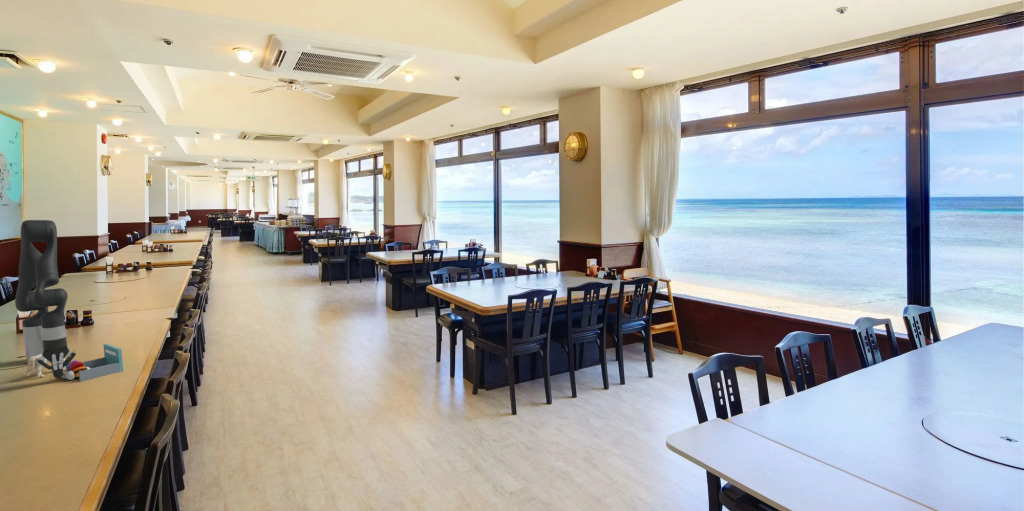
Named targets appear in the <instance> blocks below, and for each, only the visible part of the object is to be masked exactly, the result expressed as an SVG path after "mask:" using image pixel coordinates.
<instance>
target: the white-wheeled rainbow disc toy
mask: <svg viewBox="0 0 1024 511" xmlns="http://www.w3.org/2000/svg"><path fill="white" fill-rule="evenodd" d="M83 362H84V361H79V360H71V362H70V363H69V364H68V366H66V368H65V370H63V376H61V379H64V380H68V381H74V380H75V378H79V371H83V370H87V369H91V368H89V367H84V363H83Z"/></svg>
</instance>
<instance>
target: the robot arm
mask: <svg viewBox="0 0 1024 511" xmlns="http://www.w3.org/2000/svg"><path fill="white" fill-rule="evenodd" d="M35 242H36V243H43V242H46V243H47V244H46V245H47V246H46V248H45V250H44V252H43V253H42V252H40V251H39V250H38V249H37V248H36V247H35V246H34V244H33V243H35ZM57 259H58V230H57V225H56V222H54V221H53V220H49V219H29V220H28V219H25V220H23V221H22V223H21V226H20V255H19V264H18V281H17V282H18V283H17V284H18V285H17V289H16V292H15V293H16V294H15V300H14V305H15V309H16V310H17V311H18V312H22V313H24V312H25V313H26V312H34V311H35V312H36V311H37V312H36V313H35V314H33V315H32V316H29V317H27V318H24V319H23V320H22V321H21V323H22V324H21V325H22V333H23V334H22V335H23V341H24V343H23V344H24V352H25V360H26V361H25V362H26V364H28V362H29V358H30V357H32V356H37V355H39V354H42V356H41V357H40V358H39V359H36V362H38V363H39V364H41V365H42V366H43V367H44V368H45V369H47V370H49V371H50V370H51V371H52V370H53V372H52V376H53V377H54V378H55V379H62V377H61V376H63V367H65V366H68V364H69V363H70V362H72V361H73V359H74V358H75V357H76V355H77V353H76V352H75V351H74V352H73V351H70V348H69V347H68V341H67V339H68V338H67V330H66V325H65V308H66V303H67V301H68V292H67V291H66V290H65V289H64V288H62V287H61V288H58V287H57V288H50V287H53V286H57V285H58V284H59V283H60V276H59V270H58V269H59V268H58V260H57ZM34 287H35V289H34V290H32V289H33V288H34ZM47 288H50V289H47ZM49 307H55V308H54V309H53V310H51V311H49ZM44 358H45V359H47V360H48V361H50V362H49V364H50V365H49V364H48V363H47V362H46V363H45V360H44ZM63 359H65V361H64V362H63Z"/></svg>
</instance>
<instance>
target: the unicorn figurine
mask: <svg viewBox="0 0 1024 511" xmlns="http://www.w3.org/2000/svg"><path fill="white" fill-rule="evenodd" d="M41 356H42V354H39V355H37V356H32V357H30V358H29V362H28V363H27V367H26V371H25V374H26V377H28V376H30V375H31V374H32V373H33V372H34V370H36V374H37V377H38V378H45V377H46V375H44V374H43V373H42V368H43V367H44V366H42V365H41V364H39V363H38V362H36V359H39V358H40V357H41ZM65 359H66V358H64V359H63V362H64V361H65ZM44 360H45V363H46V364H47V363H50V361H48V360H47V359H45V358H44ZM65 369H66V366H65V367H63V370H65ZM51 372H52V373H53V370H51Z"/></svg>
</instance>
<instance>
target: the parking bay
mask: <svg viewBox="0 0 1024 511" xmlns="http://www.w3.org/2000/svg"><path fill="white" fill-rule="evenodd" d="M122 351H123V350H122V348H120V347H118V346H114V345H111V344H108V343H103V353H104V354H103V356H104V357H99V358H95V359H90V360H84V361H82V362H83V363H84V367H89V368H91V369H87V370H83V371H79V377H78V379H79V380H78V381H79V382H83V381H88V380H92V379H96V378H100V377H101V378H102V377H104V376H109V375H112V374H116V373H120V372H124V363H123V354H122Z"/></svg>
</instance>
